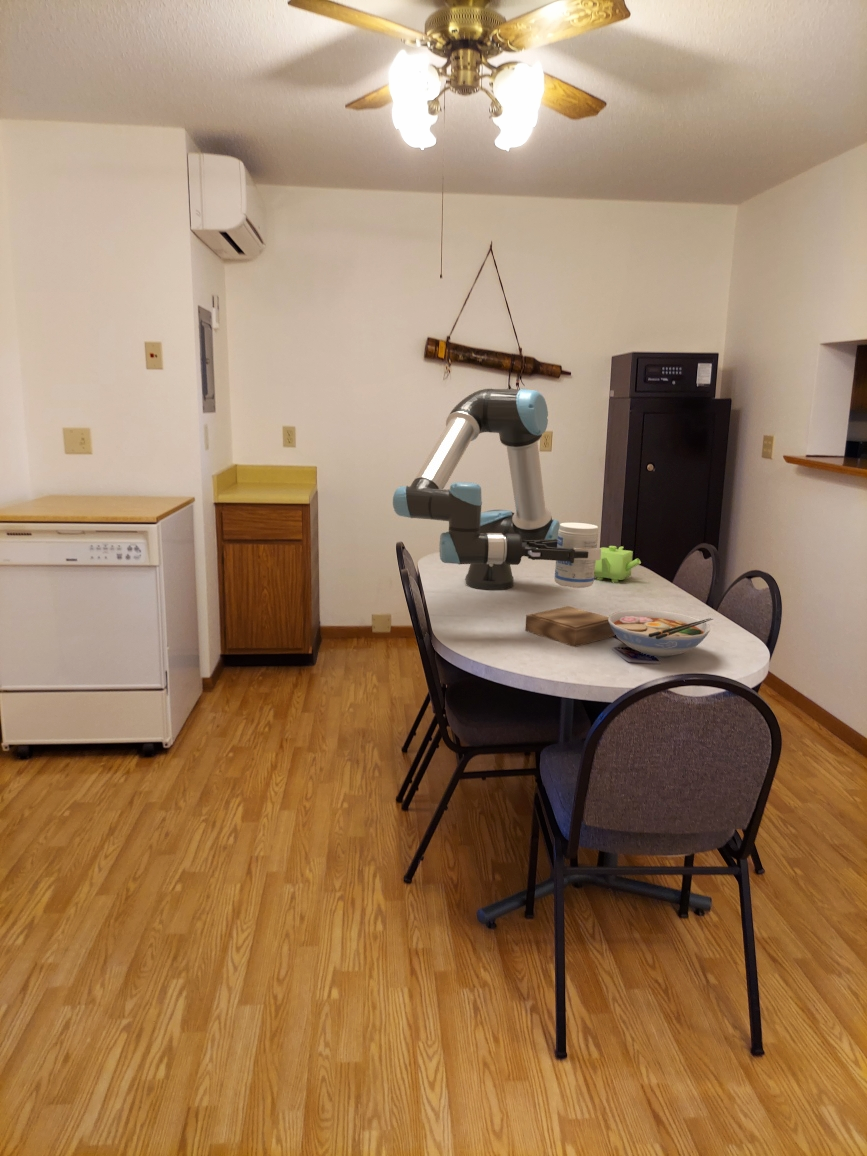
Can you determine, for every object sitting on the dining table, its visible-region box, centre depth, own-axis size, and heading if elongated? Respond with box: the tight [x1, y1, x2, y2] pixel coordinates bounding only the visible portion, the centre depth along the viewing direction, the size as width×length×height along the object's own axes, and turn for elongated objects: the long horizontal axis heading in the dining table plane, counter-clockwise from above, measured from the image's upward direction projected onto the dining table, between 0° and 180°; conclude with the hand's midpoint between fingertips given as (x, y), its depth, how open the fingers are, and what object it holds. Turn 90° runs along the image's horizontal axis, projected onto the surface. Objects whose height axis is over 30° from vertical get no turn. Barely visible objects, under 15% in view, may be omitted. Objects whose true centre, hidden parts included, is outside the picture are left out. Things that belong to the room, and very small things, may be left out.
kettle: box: [594, 545, 642, 584], centre depth 254 cm, size 15×14×11 cm
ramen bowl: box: [608, 609, 714, 658], centre depth 178 cm, size 25×23×8 cm
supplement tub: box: [554, 522, 599, 589], centre depth 189 cm, size 10×10×15 cm
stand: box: [524, 605, 615, 647], centre depth 192 cm, size 16×16×4 cm
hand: (594, 550), depth 189 cm, fingers closed on supplement tub, 9 cm apart
